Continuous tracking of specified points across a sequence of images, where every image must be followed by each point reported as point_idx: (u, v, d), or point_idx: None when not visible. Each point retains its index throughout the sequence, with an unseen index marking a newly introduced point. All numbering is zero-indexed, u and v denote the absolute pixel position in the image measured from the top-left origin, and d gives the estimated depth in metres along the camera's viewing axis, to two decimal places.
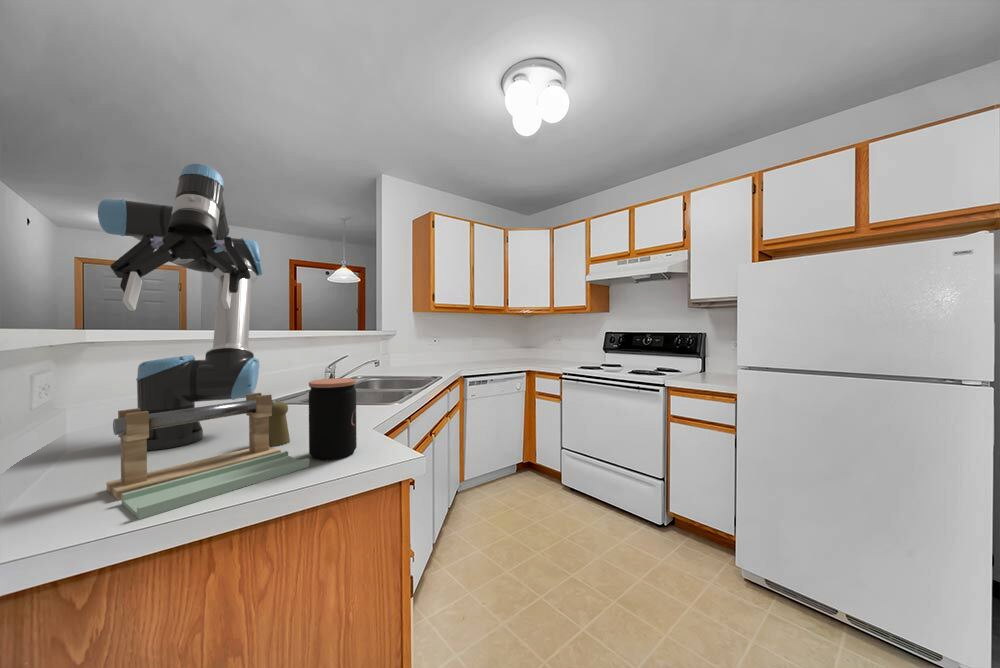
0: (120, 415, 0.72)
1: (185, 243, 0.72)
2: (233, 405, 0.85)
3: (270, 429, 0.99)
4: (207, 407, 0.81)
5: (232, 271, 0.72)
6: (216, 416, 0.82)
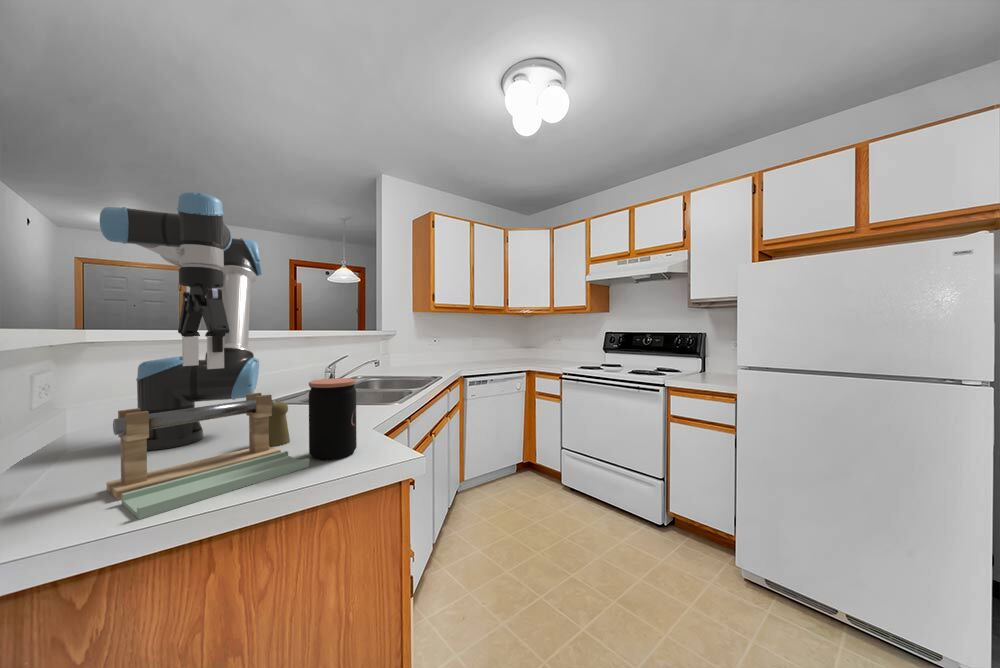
0: (120, 415, 0.72)
1: None
2: (233, 405, 0.85)
3: (270, 429, 0.99)
4: (207, 407, 0.81)
5: (206, 336, 0.75)
6: (216, 416, 0.82)
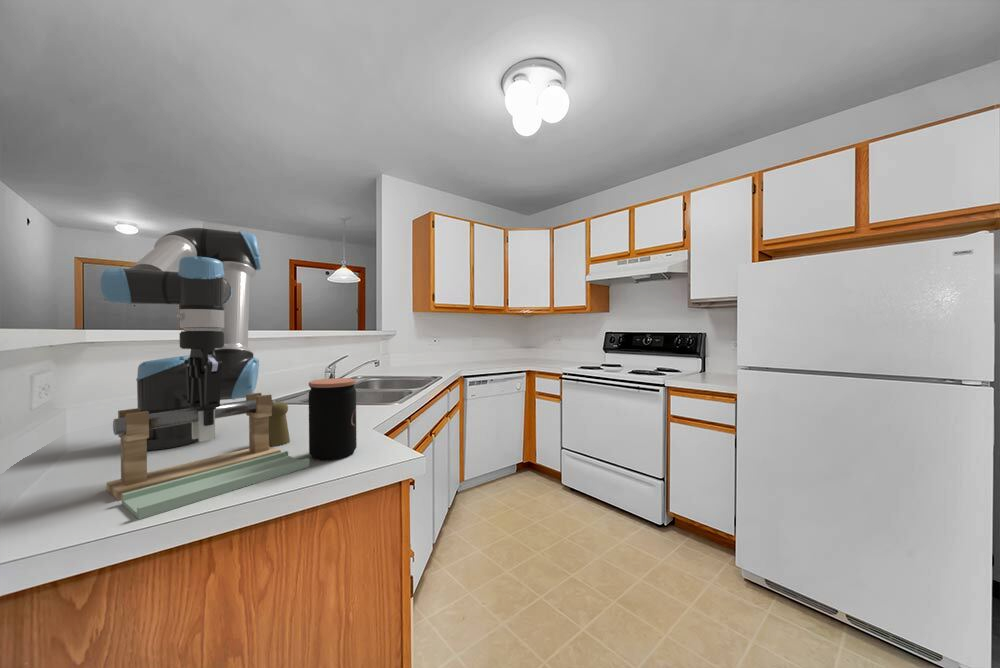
0: (120, 415, 0.72)
1: None
2: (233, 405, 0.85)
3: (270, 429, 0.99)
4: None
5: None
6: (216, 416, 0.82)
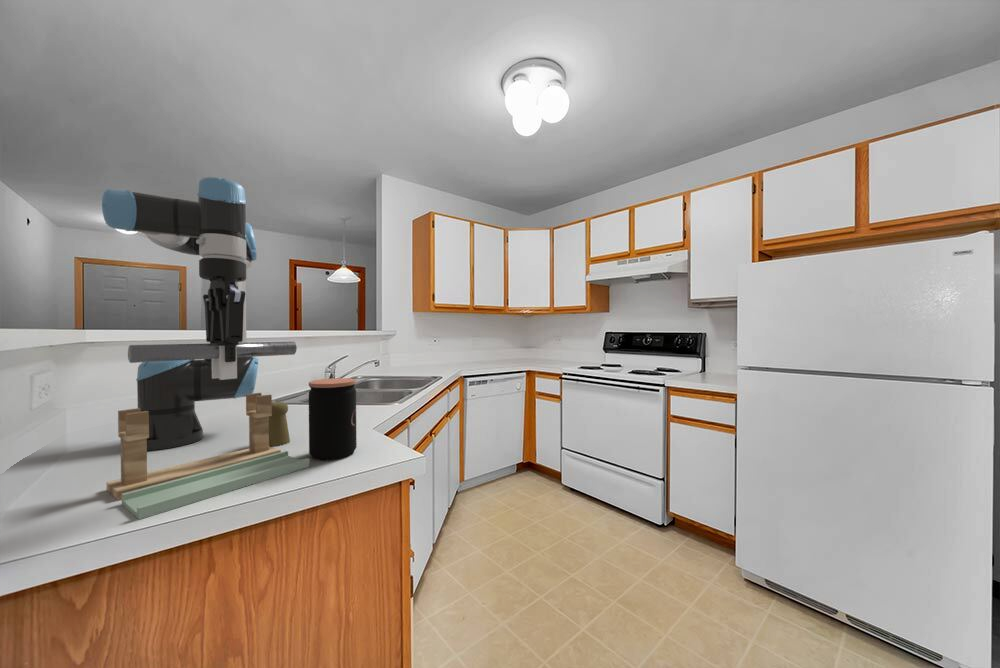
0: (120, 415, 0.72)
1: None
2: (255, 344, 0.78)
3: (270, 429, 0.99)
4: None
5: None
6: (238, 354, 0.75)
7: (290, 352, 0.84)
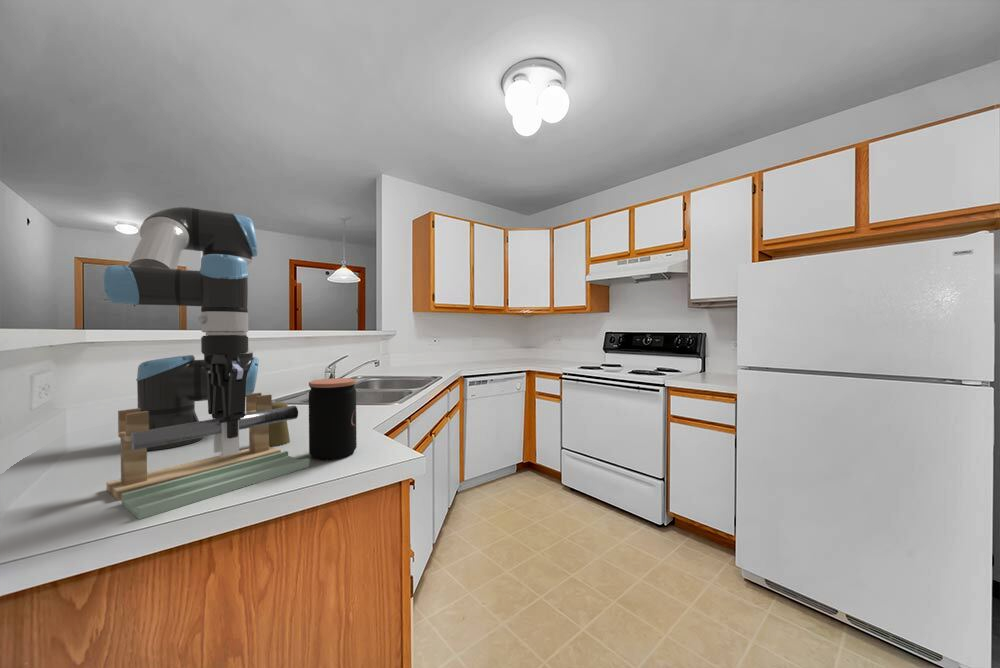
0: (120, 415, 0.72)
1: None
2: (257, 415, 0.78)
3: (270, 429, 0.99)
4: None
5: None
6: (240, 427, 0.75)
7: (292, 417, 0.84)
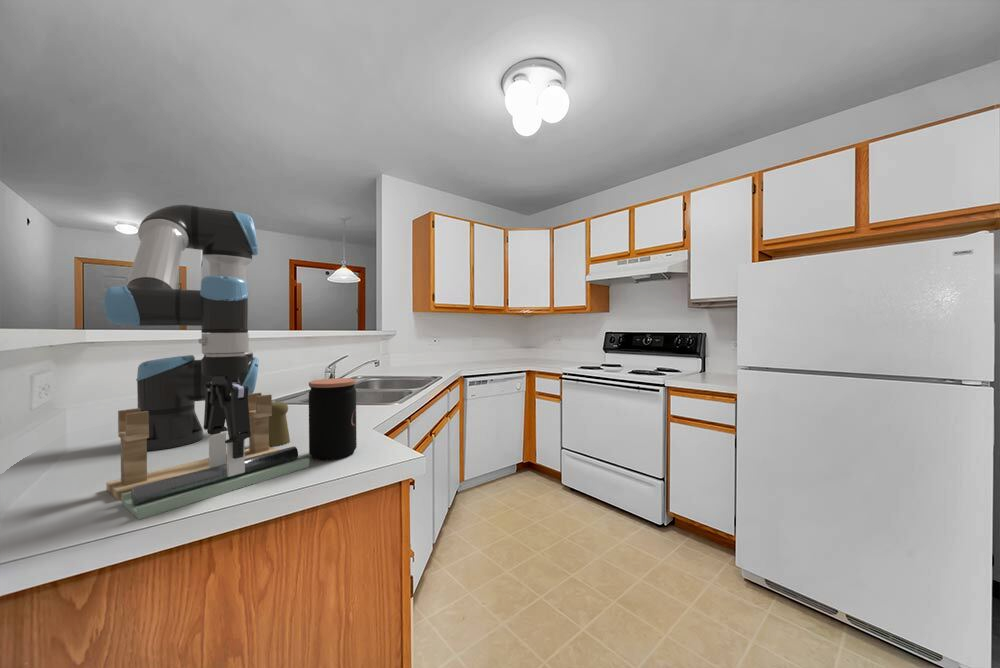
0: (120, 415, 0.72)
1: None
2: (257, 459, 0.78)
3: (270, 429, 0.99)
4: None
5: None
6: None
7: (292, 458, 0.84)
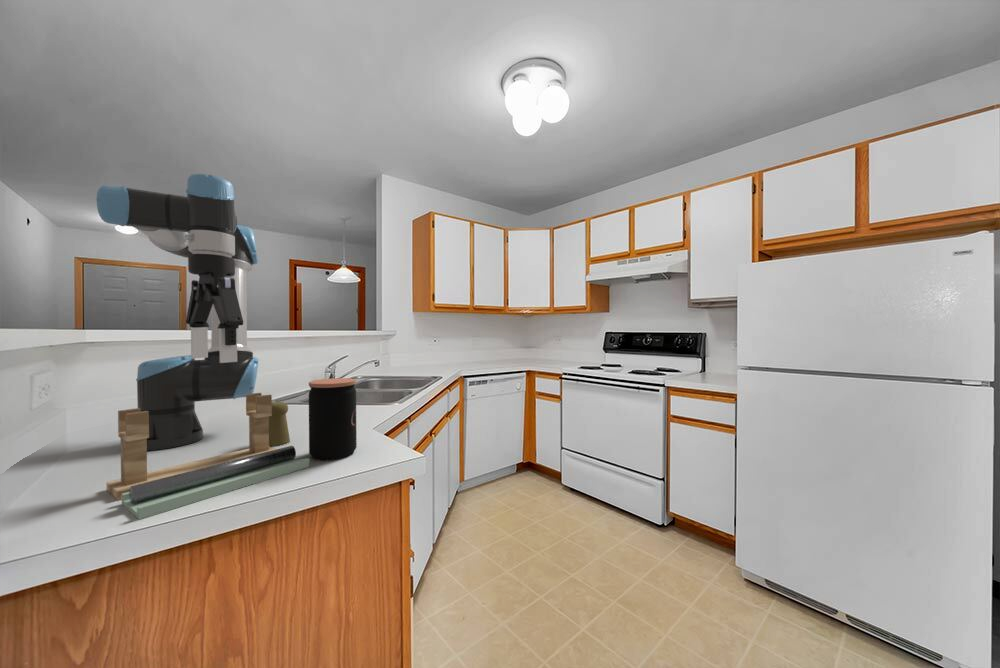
0: (120, 415, 0.72)
1: None
2: (253, 455, 0.79)
3: (270, 429, 0.99)
4: (226, 462, 0.76)
5: (219, 328, 0.71)
6: (238, 467, 0.76)
7: (290, 453, 0.85)
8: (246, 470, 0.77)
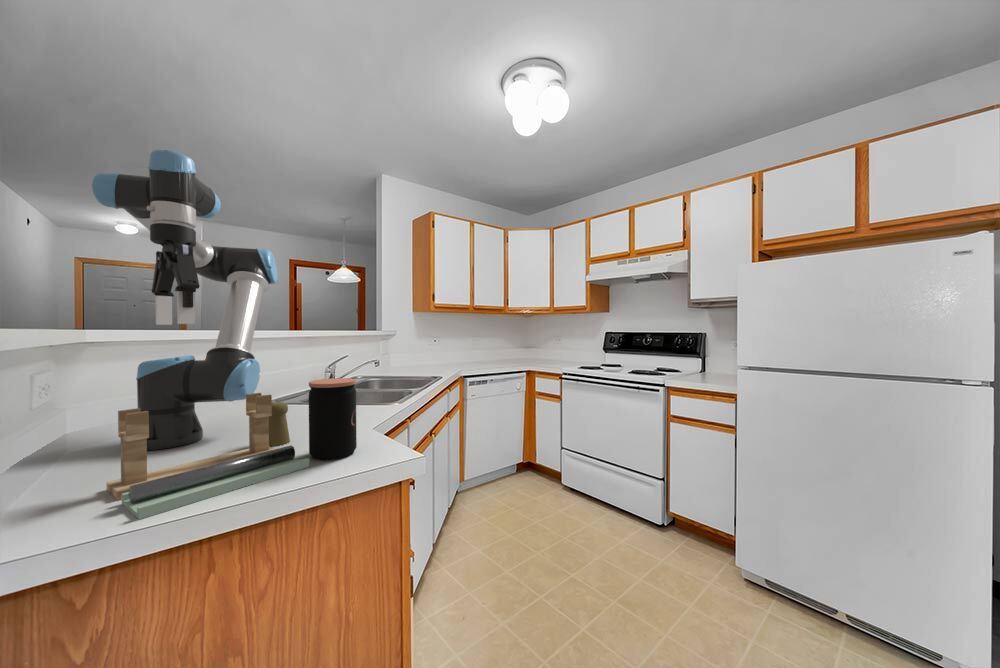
0: (120, 415, 0.72)
1: None
2: (251, 455, 0.80)
3: (270, 429, 0.99)
4: None
5: None
6: (237, 465, 0.76)
7: (289, 452, 0.85)
8: (246, 468, 0.78)
